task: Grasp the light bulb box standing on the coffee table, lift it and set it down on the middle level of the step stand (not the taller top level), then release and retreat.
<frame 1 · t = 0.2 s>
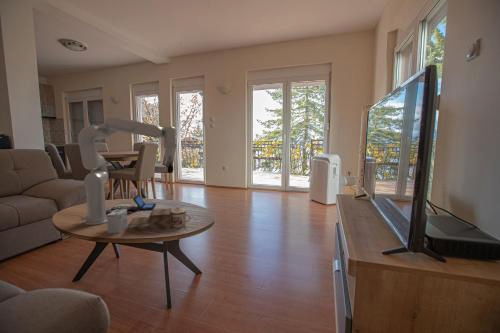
hand: (170, 171, 156), 31 cm above the table, fingers open, 9 cm apart
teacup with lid: (181, 225, 144), on the table
step stand: (151, 227, 140), on the table
light bulb box: (118, 230, 136), on the table
handheld game console: (145, 208, 180), on the table
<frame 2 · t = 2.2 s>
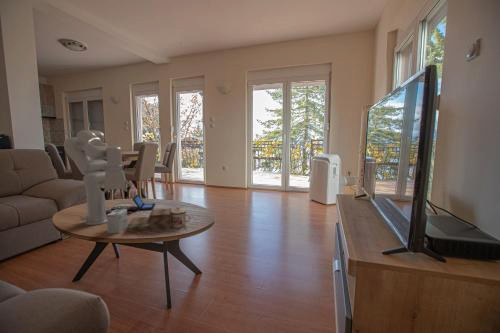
hand: (116, 198, 134), 18 cm above the table, fingers open, 9 cm apart
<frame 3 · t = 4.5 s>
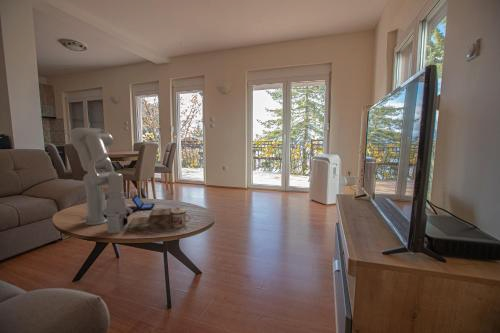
hand: (117, 224, 136), 3 cm above the table, fingers closed on light bulb box, 7 cm apart
light bulb box: (118, 230, 136), on the table, touching gripper
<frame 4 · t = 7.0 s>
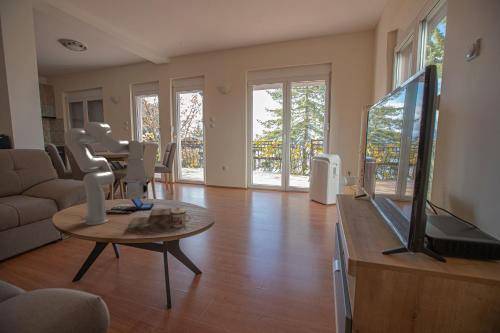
hand: (137, 192, 136), 21 cm above the table, fingers closed on light bulb box, 7 cm apart
light bulb box: (137, 197, 137), point 18 cm above the table, touching gripper
when the fingers open (9 cm above the table, at t = 9.7 s): light bulb box drops 2 cm, resting on step stand.
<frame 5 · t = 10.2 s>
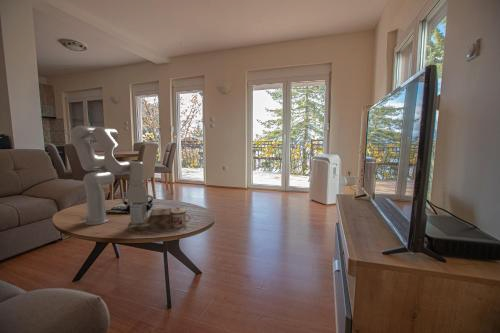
hand: (138, 211, 138), 10 cm above the table, fingers open, 9 cm apart
light bulb box: (139, 220, 138), point 4 cm above the table, touching step stand
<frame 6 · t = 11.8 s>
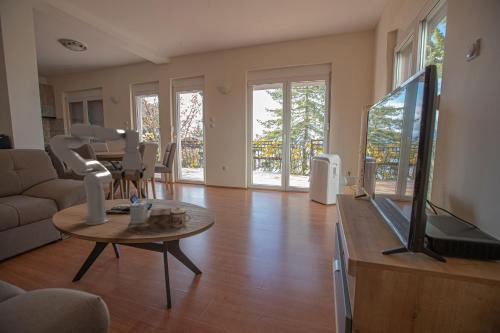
hand: (132, 178, 144), 28 cm above the table, fingers open, 9 cm apart
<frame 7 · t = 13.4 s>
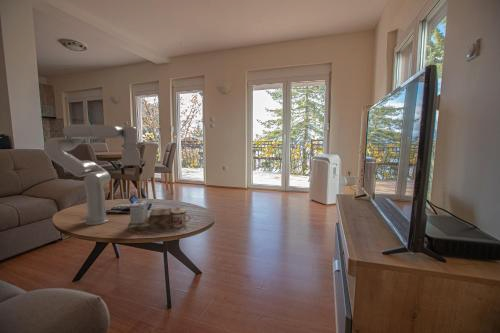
hand: (132, 174, 146), 30 cm above the table, fingers open, 9 cm apart
at the end: light bulb box inside the target area on the step stand (0.7 cm from its centre), point 4.3 cm above the step stand's base; light bulb box tilted 0°; the gripper is holding nothing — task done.
